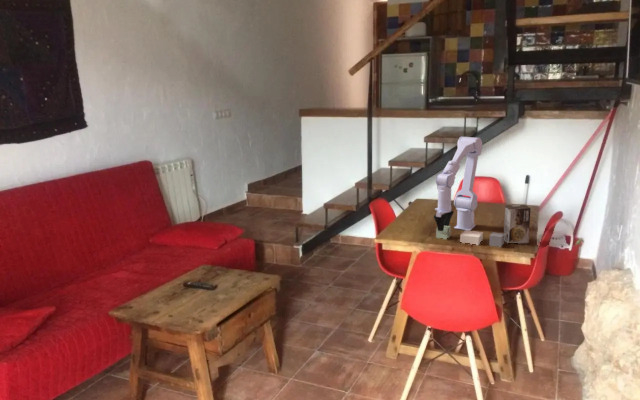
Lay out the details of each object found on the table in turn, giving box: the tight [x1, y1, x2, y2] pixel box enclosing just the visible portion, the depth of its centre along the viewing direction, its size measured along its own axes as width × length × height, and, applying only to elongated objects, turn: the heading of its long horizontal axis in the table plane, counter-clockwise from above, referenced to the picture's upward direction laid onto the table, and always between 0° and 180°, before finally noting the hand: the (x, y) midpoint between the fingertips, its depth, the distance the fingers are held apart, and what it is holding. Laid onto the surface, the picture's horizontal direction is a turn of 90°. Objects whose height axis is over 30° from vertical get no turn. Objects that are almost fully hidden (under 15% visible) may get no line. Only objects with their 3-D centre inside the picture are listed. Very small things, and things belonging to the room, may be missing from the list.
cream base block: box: [459, 230, 484, 246], centre depth 226 cm, size 8×8×4 cm
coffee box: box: [503, 204, 531, 244], centre depth 223 cm, size 9×6×16 cm
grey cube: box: [488, 231, 505, 248], centre depth 220 cm, size 5×5×5 cm
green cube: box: [435, 225, 452, 240], centre depth 233 cm, size 5×5×5 cm
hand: (443, 228), depth 232 cm, fingers open, 7 cm apart
